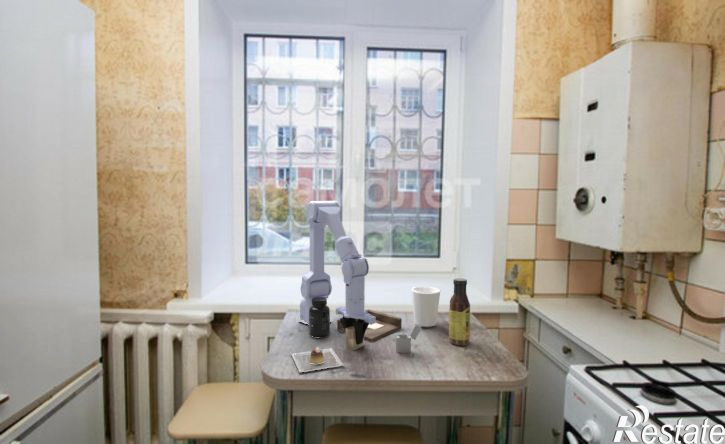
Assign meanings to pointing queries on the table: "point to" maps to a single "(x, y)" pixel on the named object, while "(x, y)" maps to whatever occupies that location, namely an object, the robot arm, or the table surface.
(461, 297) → the sauce bottle
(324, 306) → the supplement bottle
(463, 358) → the table surface
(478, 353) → the table surface
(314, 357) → the dessert
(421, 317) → the cup
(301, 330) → the table surface
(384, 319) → the corner board
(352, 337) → the maple block
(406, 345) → the lighter
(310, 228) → the robot arm
